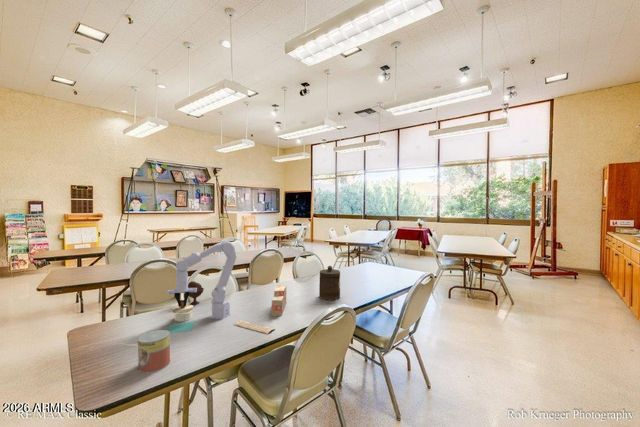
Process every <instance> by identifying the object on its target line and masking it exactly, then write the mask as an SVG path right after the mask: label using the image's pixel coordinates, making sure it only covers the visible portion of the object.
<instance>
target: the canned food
mask: <svg viewBox="0 0 640 427" xmlns="http://www.w3.org/2000/svg"><path fill="white" fill-rule="evenodd" d="M167 330H168V329H156V330H150V331H147V332H144V333H143V334H141V335H139V337H138V338H137V352H138V354H137V357H138V358H137V360H138V363H137V364H138V368H137V371H138V372H140V373H144V374H148V373H149V374H150V373H155V372H157V371H161V370H163V369H165V368H166V367H168V366H169V365H170V363H171V350H170V349H171V347H170V346H171V344H170V343H171V341H170V339H171V337H170V336H171V335H170V334H171V333H170V332H169V331H167Z"/></svg>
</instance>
